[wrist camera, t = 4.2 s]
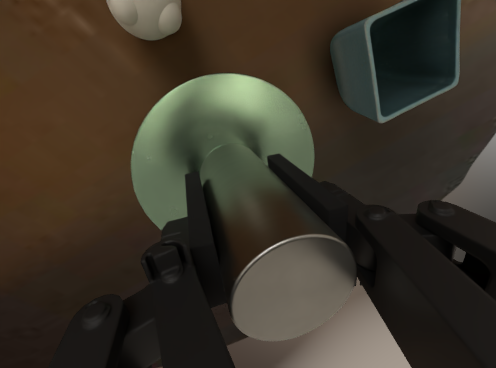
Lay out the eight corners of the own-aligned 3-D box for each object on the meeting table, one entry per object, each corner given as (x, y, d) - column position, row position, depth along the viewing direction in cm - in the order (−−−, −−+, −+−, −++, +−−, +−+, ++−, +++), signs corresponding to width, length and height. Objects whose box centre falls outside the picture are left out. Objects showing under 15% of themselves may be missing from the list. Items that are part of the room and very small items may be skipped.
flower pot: (327, 113, 30) (380, 126, 22) (308, 37, 26) (364, 19, 18) (387, 83, 31) (460, 84, 23) (378, 3, 27) (462, -29, 19)
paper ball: (98, -11, 21) (73, -40, 16) (155, -44, 21) (148, -84, 16) (143, 58, 23) (133, 52, 18) (193, 28, 23) (198, 14, 18)
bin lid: (91, 119, 14) (-135, 226, 4) (281, 42, 15) (495, -31, 5) (186, 263, 19) (194, 462, 9) (320, 200, 20) (459, 319, 10)
